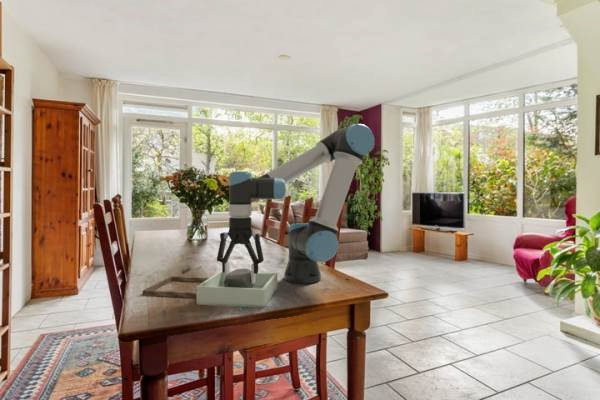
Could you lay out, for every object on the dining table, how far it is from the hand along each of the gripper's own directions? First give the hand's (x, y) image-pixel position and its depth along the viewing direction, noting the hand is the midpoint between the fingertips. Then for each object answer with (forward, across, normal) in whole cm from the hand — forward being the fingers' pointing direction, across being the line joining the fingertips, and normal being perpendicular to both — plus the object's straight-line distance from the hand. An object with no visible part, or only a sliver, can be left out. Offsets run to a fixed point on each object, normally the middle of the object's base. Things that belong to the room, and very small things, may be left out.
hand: (240, 282), depth 119 cm
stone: (+2, 0, +2) cm, 3 cm away
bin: (+5, 0, 0) cm, 5 cm away
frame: (+5, +23, -6) cm, 24 cm away
